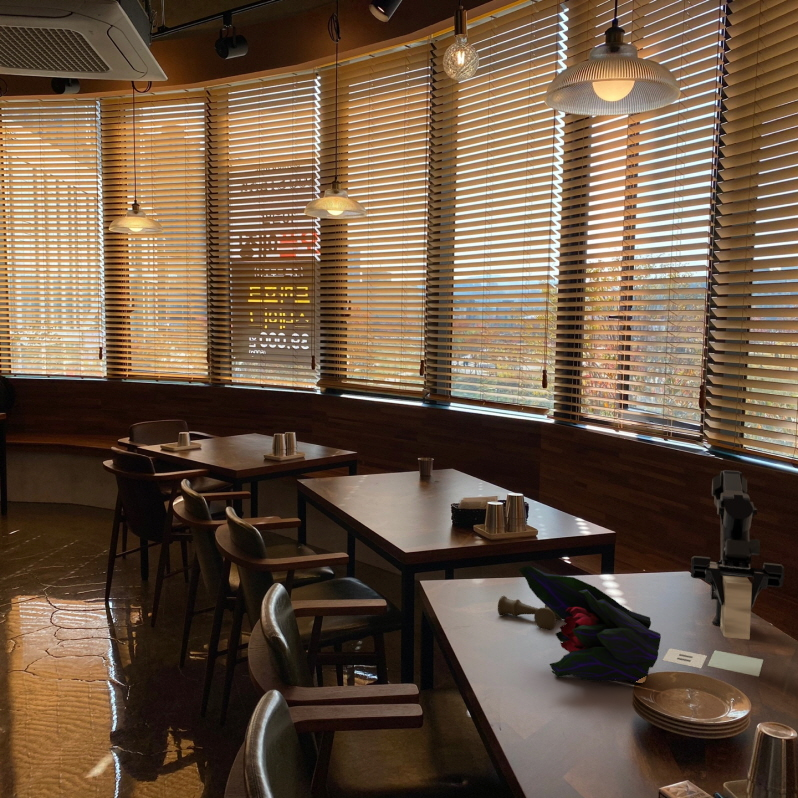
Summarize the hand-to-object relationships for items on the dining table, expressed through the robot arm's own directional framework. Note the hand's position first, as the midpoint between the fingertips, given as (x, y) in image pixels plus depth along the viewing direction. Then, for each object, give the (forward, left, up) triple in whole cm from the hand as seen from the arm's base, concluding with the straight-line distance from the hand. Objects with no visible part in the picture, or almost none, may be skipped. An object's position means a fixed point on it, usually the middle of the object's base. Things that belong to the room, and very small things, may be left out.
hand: (736, 606), depth 161 cm
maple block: (-1, 0, -7) cm, 7 cm away
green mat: (-1, 0, -13) cm, 13 cm away
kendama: (-4, -47, -14) cm, 49 cm away
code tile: (+2, -10, -13) cm, 17 cm away
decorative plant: (+22, -27, -14) cm, 37 cm away
